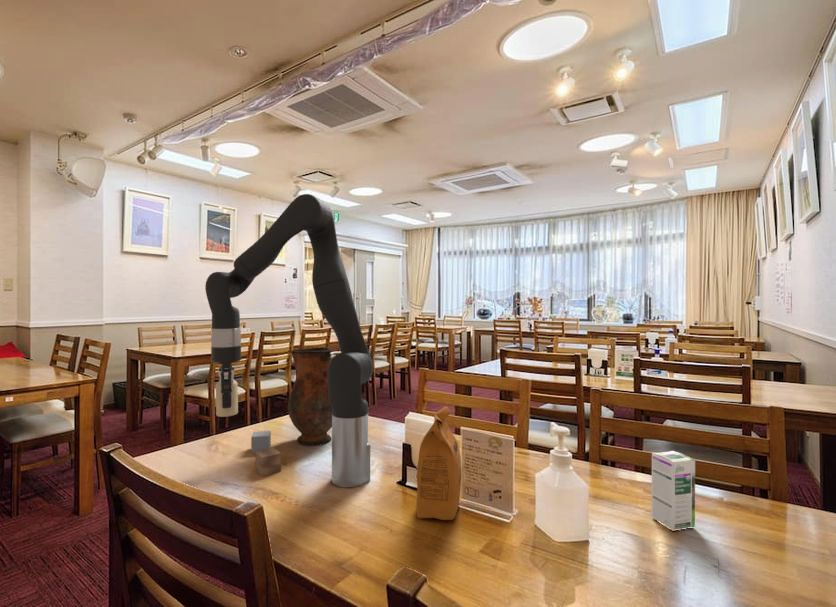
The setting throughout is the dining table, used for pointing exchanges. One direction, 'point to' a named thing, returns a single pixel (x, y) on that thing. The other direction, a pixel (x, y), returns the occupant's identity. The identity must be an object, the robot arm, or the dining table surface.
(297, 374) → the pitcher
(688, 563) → the dining table surface
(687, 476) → the syrup box
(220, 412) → the candle
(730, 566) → the dining table surface
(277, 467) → the walnut block
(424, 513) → the coffee package
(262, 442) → the slate block
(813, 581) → the dining table surface
